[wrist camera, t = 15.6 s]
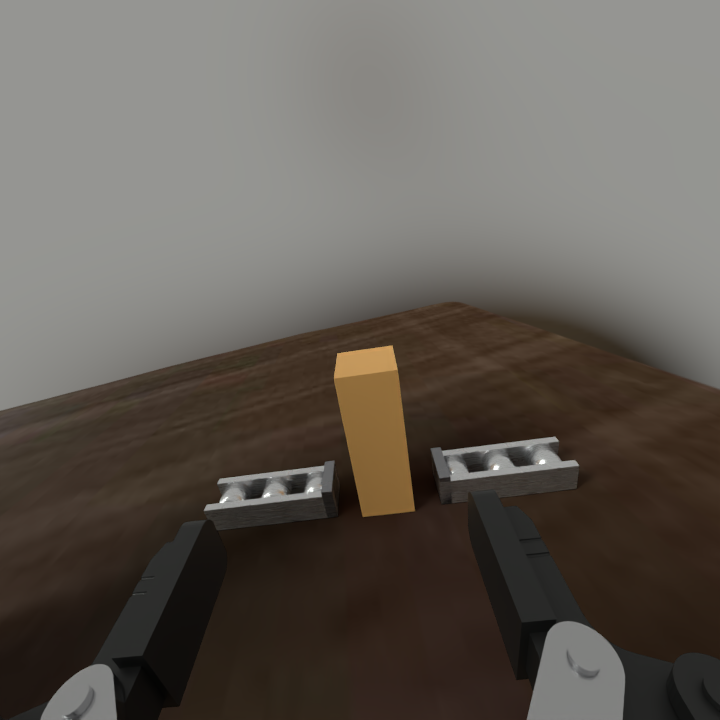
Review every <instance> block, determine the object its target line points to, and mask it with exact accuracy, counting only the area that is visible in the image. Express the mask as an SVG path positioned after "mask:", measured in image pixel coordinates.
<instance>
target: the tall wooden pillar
mask: <svg viewBox="0 0 720 720" xmlns="http://www.w3.org/2000/svg"><path fill="white" fill-rule="evenodd" d="M334 382H335V387H336V391H337V396H338V401H339V406H340V411H341V416H342V420H343V425H344V430H345V435H346V440H347V444H348V449H349V454H350V459H351V464H352V468H353V473H354V478H355V483H356V488H357V492H358V497H359V502H360V507H361V512H362V516H363V517H368V516H377V515H386V514H395V513H404V512H413V511H415V507H414V499H413V491H412V482H411V474H410V466H409V458H408V450H407V442H406V434H405V426H404V418H403V409H402V401H401V393H400V385H399V377H398V369H397V365H396V360H395V356H394V351H393V347H392V346H386V347H379V348H372V349H365V350H358V351H351V352H344V353H338V354H337V361H336V367H335V374H334Z"/></svg>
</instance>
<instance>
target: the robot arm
mask: <svg viewBox="0 0 720 720" xmlns="http://www.w3.org/2000/svg"><path fill="white" fill-rule="evenodd" d="M468 527H469V535H470V540H471V544H472V548H473V551H474V554H475V557H476V560H477V563H478V566H479V569H480V572H481V575H482V578H483V581H484V584H485V587H486V590H487V593H488V596H489V599H490V602H491V605H492V608H493V611H494V614H495V617H496V620H497V623H498V626H499V629H500V632H501V635H502V638H503V641H504V644H505V647H506V650H507V653H508V656H509V659H510V662H511V665H512V668H513V671H514V674H515V677H516V680H521V679H529V681H530V683H531V686H532V689H533V696H532V700H531V704H530V708H529V713H528V717H527V720H720V660H719V659H717V658H714V657H712V656H709V655H705V654H701V653H686V654H683V655H681V656H680V657H678V658H677V659H676V661H675V663H670V662H666V661H663V660H659V659H655V658H651V657H647V656H644V655H640V654H636V653H633V652H630V651H627V650H624V649H622V648H620V647H618V646H616V645H614V644H613V643H611V642H609V641H608V640H607V639H605V638H604V637H603V636H601V635H600V634H599V633H598V632H597V631H596V630H595V629H594V628H593V627H592V626H591V625H590V624H589V622H588V621H587V620H586V618H585V617H584V615H583V613H582V612H581V610H580V608H579V606H578V604H577V602H576V601H575V599H574V597H573V595H572V593H571V591H570V590H569V588H568V586H567V584H566V582H565V580H564V579H563V577H562V575H561V573H560V571H559V569H558V567H557V566H556V564H555V562H554V560H553V558H552V556H550V554H549V551H548V549H547V547H546V545H545V544H544V542H543V541H542V539H541V536H540V534H539V533H538V531H537V529H536V527H535V525H534V523H533V521H532V520H531V519H530V518H529V517H528V516H527V515H526V514H525V513H524V512H523V511H521V510H520V509H519V508H518V507H517V506H511V507H503V505H502V503H501V501H500V499H499V497H498V495H497V493H496V491H495V490H494V489H488V490H479V491H470V492H469V493H468ZM226 568H227V553H226V549H225V547H224V545H223V543H222V540H221V538H220V536H219V534H218V531H217V529H216V527H215V525H214V523H213V521H212V520H210V519H208V520H199V521H190V522H185V523H184V524H183V525H182V526H181V528H180V529H179V531H178V533H177V535H176V537H175V539H174V541H173V542H167V543H166V544H165V545H164V546H163V547H162V548H161V549H160V550H159V552H158V553H157V554H156V555H155V556H154V557H153V558H152V559H151V561H150V563H149V564H148V566H147V568H146V570H145V571H144V573H143V575H142V577H141V581H139V582H138V584H137V586H136V587H135V589H134V591H133V595H132V597H130V598H129V600H128V602H127V603H126V605H125V607H124V609H123V611H122V612H121V614H120V616H119V618H118V619H117V621H116V623H115V625H114V627H113V628H112V630H111V632H110V634H109V635H108V637H107V639H106V641H105V642H104V644H103V646H102V648H101V650H100V651H99V653H98V655H97V657H96V658H95V660H94V661H93V663H92V664H91V666H89V667H87V668H85V669H83V670H81V671H79V672H78V673H76V674H75V675H74V676H72V677H71V678H70V679H69V680H68V681H67V682H65V683H64V684H63V685H62V686H61V688H60V689H59V690H58V691H57V692H56V693H55V695H54V696H53V697H52V699H51V700H50V701H48V702H46V703H44V704H41V705H39V706H37V707H35V708H32V709H30V710H28V711H26V712H24V713H21V714H19V715H17V716H15V717H12V718H10V719H8V720H158V717H159V715H160V712H161V709H162V708H166V707H178V706H180V703H181V700H182V697H183V694H184V691H185V688H186V685H187V682H188V680H189V677H190V674H191V671H192V668H193V665H194V662H195V659H196V656H197V654H198V651H199V648H200V645H201V642H202V639H203V636H204V633H205V630H206V628H207V625H208V622H209V619H210V616H211V613H212V610H213V607H214V604H215V602H216V599H217V596H218V593H219V590H220V587H221V584H222V581H223V578H224V576H225V572H226ZM0 720H5V719H3V718H2V717H1V716H0Z"/></svg>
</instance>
